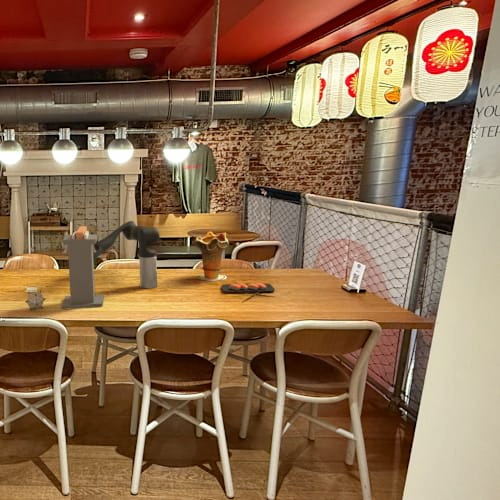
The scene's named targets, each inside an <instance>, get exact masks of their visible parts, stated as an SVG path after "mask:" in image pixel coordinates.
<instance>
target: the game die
mask: <svg viewBox="0 0 500 500" xmlns="http://www.w3.org/2000/svg"><path fill="white" fill-rule="evenodd" d="M46 299H47V297H44V296H43V295H42V290H40V291H39V292H31V293H30V292H29V291H28V297H27V300H25V302H24V303H27V305H28V307H29V310H30V311H32V310H33V309H44V307H43V305H44V302H45V301H46Z"/></svg>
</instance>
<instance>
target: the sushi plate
mask: <svg viewBox="0 0 500 500" xmlns="http://www.w3.org/2000/svg"><path fill="white" fill-rule="evenodd" d="M220 288H221V290H222V292H225V293H243V294H250V297H247V298H246V299H245V300H242V301H241V303H244V302H247V301H249V300H250V299H251V298H252V297H254V296H261V297H269V298H275V296H272V295H266V294H261V293H264V292H274V291H275V288H274V287H273V285H272V284H271V283H262V282H261V283H260V282H257V283H242V282H241V283H229V284H227V283H226V284H221V286H220ZM259 293H260V294H259Z"/></svg>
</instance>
